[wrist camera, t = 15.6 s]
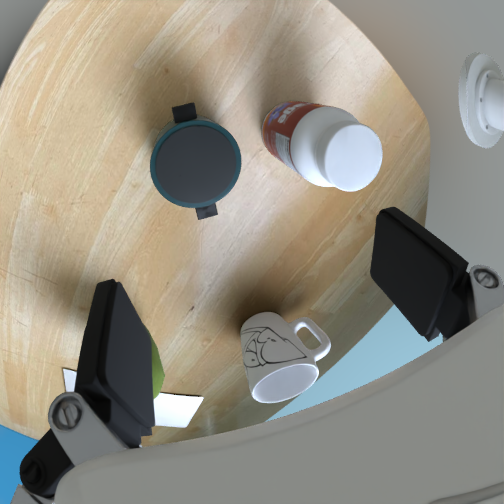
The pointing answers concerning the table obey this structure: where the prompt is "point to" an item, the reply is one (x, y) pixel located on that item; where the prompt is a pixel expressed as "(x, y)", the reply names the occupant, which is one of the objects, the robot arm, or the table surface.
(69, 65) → the table surface
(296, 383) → the mug
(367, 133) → the pill bottle
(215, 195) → the pot
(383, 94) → the table surface
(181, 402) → the paper
